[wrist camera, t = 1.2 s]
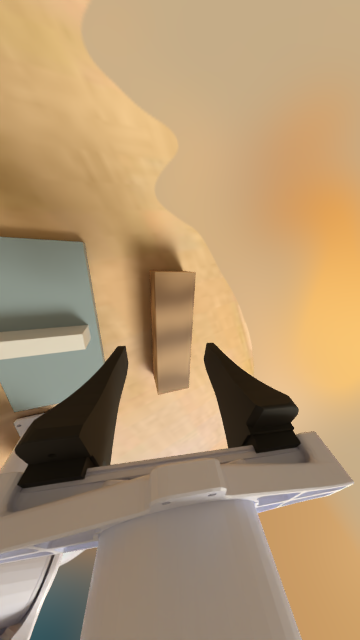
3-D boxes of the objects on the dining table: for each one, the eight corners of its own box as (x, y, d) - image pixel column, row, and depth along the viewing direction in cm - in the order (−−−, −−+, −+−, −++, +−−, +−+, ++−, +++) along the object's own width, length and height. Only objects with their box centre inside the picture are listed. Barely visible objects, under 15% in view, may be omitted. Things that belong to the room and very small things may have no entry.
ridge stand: (109, 388, 25) (106, 408, 22) (19, 406, 22) (-3, 434, 18) (84, 243, 18) (73, 237, 14) (-59, 234, 14) (-121, 224, 11)
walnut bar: (179, 368, 29) (188, 387, 25) (153, 373, 28) (158, 394, 23) (182, 270, 23) (195, 272, 19) (149, 270, 21) (154, 271, 17)
